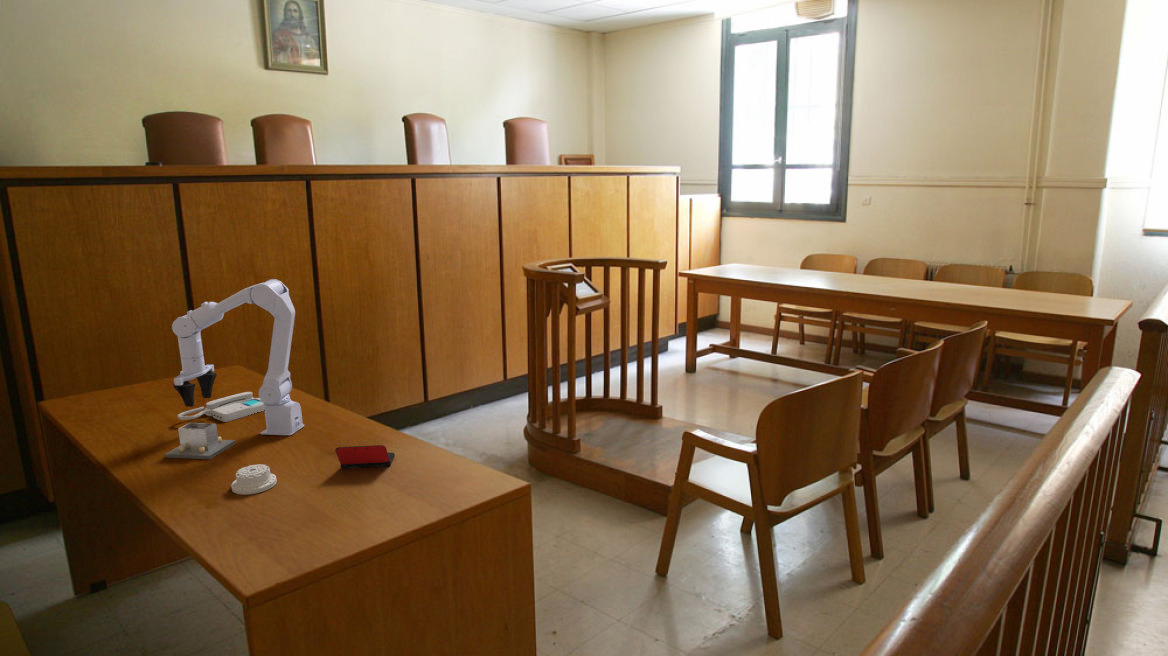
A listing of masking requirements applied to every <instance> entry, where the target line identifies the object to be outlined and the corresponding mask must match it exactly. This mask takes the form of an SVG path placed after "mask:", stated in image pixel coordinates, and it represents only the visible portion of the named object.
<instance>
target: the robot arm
mask: <svg viewBox="0 0 1168 656" xmlns="http://www.w3.org/2000/svg"><path fill="white" fill-rule="evenodd" d="M289 290H290V289H289V288H288V287H287V286H286V285H285V284H284V283H283V282H282V281H280V280H278V279H276V278H275V279H274V278H272V279H271V278H270V279H267V281H265V282H264V281H263V282H261V283H258V284H253V285H251V286H248V287H246V288H243V289H241V290H239V291H238V292H236V293H234V294H232V295H230V296H229V297H227V298H225V299H223V300H221V301H220V302H215V301H204V302H202V303H201V304H200V305H201V306H200V307H198V308H196V309H193V310H192V309H190V310H188V311H187V312H186V313H187V314H185V315H183V316H178V317H177V318H175V320H174V321H173V322H172V324H171V329H172V332H173V333H174V335H176V337H177V341H178V349H179V354H180V355H179V356H180V363H181V369H182V370H181V371H180V372H179V375H177V376H176V377H174V378H173V384H172V385H173V388H174V389H175V391H176V392H178V394H179V396H180V397H181V399H182V401H183V403H184V406H185V407H187V408H188V407H189V408H190V407H192V408H193V407H194V405H195V397H194V396H195V395H194V394H195V388H196V383H192V382H189V381H192V380H194V379H196V380H197V382H198V384H199V388H200V391H201V395H202V398H203V399H211V398H212V394H213V393H212V392H213V387H214V383H215V380H216V377H217V376H218V375H217V372H215V366H214V364H206V365H205V357H204V350H203V342H202V335H201V331H202V330H204V329H206V328H209V327H210V326H212V325H214V324H216V323H217V322H220V321H222V320H223V318H224V315H225V313H227V312H228V311H231V310H232V309H235V308H237V307H239V306H241V305H243V304H245V303H247V304H249V305H253V304H255V305H256V306H258V307H260V308H262V309H263V310H265V311H266V312H268V313H270V314H271V315H272V316H273V318H274V320H273V321H274V322H273V328H272V335H271V336H272V337H271V344H270V351H269V360H268V367H267V368H268V369H267V372H266V374H265V376H264V378H263V384H262V385H261V386H260V388H259V390H258V398H260V399H261V401H262V402H263V403H264V410H265V411H264V416H265V426H266V429H264V430H262V431H261V432H260V434H261V435H267V436H268V435H270V436H274V435H275V436H292V435H293V434H295V433H297V432H298V431H299V430H301V429H302V428H303V427H305V424H304V423H303V415H302V413H303V412H302V407H301V404H300V403H299V402H298V401H293V400H292V399H291V396H290V392H291V391H292V389H293V383H292V380H291V372H290V371H289V362H290V356H291V348H292V347H291V346H292V340H293V332H294V326H295V318H296V310H295V306H294V305H293V302H292V300H291V297H290V293H289Z"/></svg>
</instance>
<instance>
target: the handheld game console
mask: <svg viewBox="0 0 1168 656" xmlns="http://www.w3.org/2000/svg"><path fill="white" fill-rule="evenodd" d="M334 451H335V453H336V455H337V459H338V462H339V464H340V469H342V470H347V469H361V468H388V467H391V465H392V462H393V460H394V458H395V457H396V456H395V452H388V449H387V447H386V446H385V445H382V444H379V445H377V444H376V445H374V444H373V445H358V446H340V447H339V446H338V447H336V448H335V449H334Z"/></svg>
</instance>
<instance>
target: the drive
mask: <svg viewBox="0 0 1168 656" xmlns="http://www.w3.org/2000/svg"><path fill="white" fill-rule="evenodd" d="M217 429H218V427H217V423H210V422H209V423H206V422H205V423H204V422H203V423H202V422H188V423H187V424H185V425H182V426H180V427H179V428H178V429H177V431H178V432H177V433H178V436H179V438H178V439H179V446H180V445H181V446H184V450H199V447H202V446H204V449H205V451H209V450H210V449H212V448H214V447H215V446H217V445H219V441H218V437H219V436H218V435H219V434H218V430H217Z"/></svg>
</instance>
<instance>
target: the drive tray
mask: <svg viewBox="0 0 1168 656" xmlns="http://www.w3.org/2000/svg"><path fill="white" fill-rule="evenodd" d="M218 441H219V445H217V446H215V447H214V448H212V449H210V450H209V451H205V449H204V446H202V447H199V450H184V446H181V445H180V444H179V446H177V447H175V448H173V449H171V450H169V451H168V452H166V453H164V454H165V458H169V459H174V458H175V459H196V460H212V459H213V458H215V457H217V456H219V455H220V454H221V453H223V452H225V451H226V450H228V449H229V447H230V448H232V446H235V445H236V440H235V439H222V437H221V436H218ZM224 450H225V451H224ZM219 453H220V454H219ZM216 455H217V456H216Z"/></svg>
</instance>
